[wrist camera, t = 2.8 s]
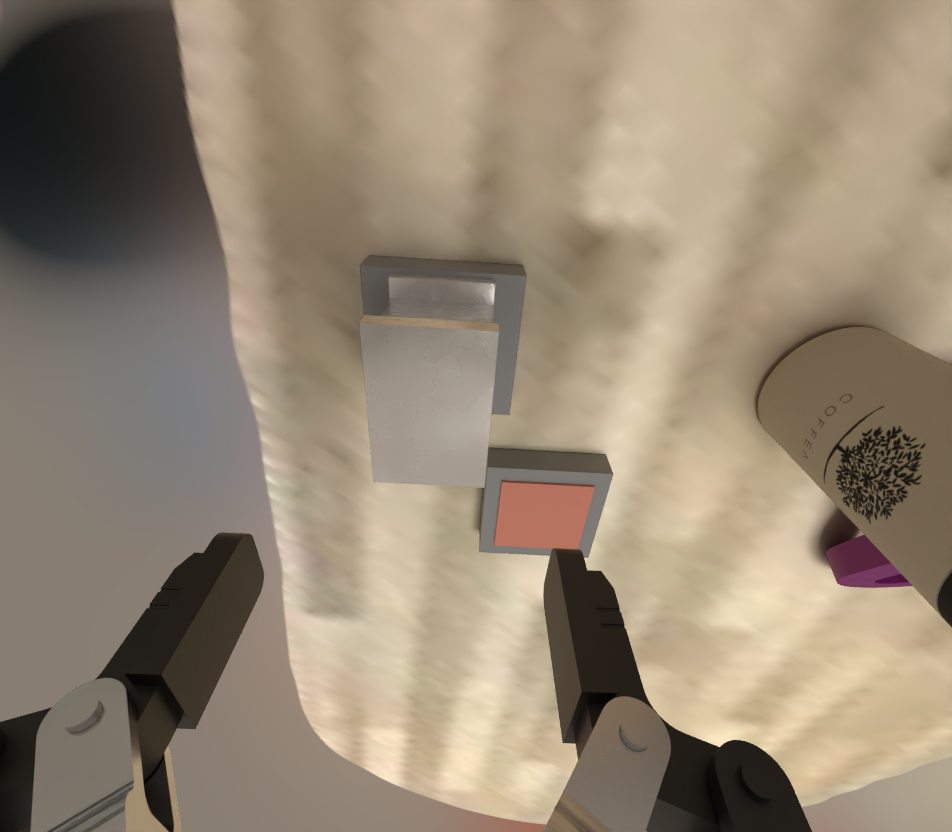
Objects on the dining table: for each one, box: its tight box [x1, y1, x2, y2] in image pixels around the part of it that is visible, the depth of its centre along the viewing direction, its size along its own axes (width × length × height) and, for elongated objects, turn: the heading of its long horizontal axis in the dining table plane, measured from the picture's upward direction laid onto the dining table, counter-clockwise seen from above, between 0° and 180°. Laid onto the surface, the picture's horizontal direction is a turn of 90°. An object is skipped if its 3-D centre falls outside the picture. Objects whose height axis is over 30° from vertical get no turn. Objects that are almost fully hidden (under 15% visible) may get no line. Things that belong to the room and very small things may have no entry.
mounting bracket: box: [826, 535, 912, 588], centre depth 29 cm, size 9×8×18 cm
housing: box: [359, 273, 499, 488], centre depth 21 cm, size 8×5×7 cm, turn 177°
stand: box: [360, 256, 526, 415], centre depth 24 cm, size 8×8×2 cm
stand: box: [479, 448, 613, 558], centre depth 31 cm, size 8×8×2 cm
